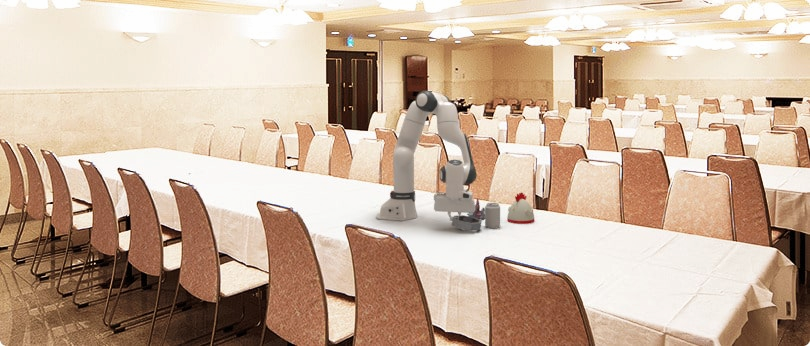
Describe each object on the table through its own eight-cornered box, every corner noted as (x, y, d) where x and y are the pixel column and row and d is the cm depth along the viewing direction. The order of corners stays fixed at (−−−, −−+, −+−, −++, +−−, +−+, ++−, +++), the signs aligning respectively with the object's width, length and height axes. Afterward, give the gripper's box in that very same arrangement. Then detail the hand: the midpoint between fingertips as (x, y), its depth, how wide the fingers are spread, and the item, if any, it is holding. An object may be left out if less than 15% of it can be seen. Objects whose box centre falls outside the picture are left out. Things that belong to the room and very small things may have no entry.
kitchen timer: (501, 221, 340) (501, 192, 338) (519, 216, 349) (519, 189, 347) (522, 225, 330) (522, 196, 328) (539, 221, 339) (540, 192, 336)
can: (489, 224, 333) (489, 201, 331) (502, 226, 329) (502, 202, 327) (482, 227, 327) (482, 204, 325) (495, 229, 322) (496, 205, 321)
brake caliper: (488, 216, 340) (474, 198, 341) (472, 228, 343) (458, 210, 344) (491, 212, 351) (478, 194, 351) (475, 223, 354) (462, 205, 355)
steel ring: (450, 227, 317) (451, 219, 316) (454, 220, 330) (455, 213, 330) (478, 232, 314) (480, 225, 314) (481, 225, 328) (482, 218, 327)
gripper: (432, 193, 320) (432, 221, 322) (474, 195, 316) (474, 223, 318) (434, 191, 326) (434, 218, 328) (475, 192, 322) (475, 220, 324)
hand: (454, 220), depth 323 cm, fingers closed on steel ring
